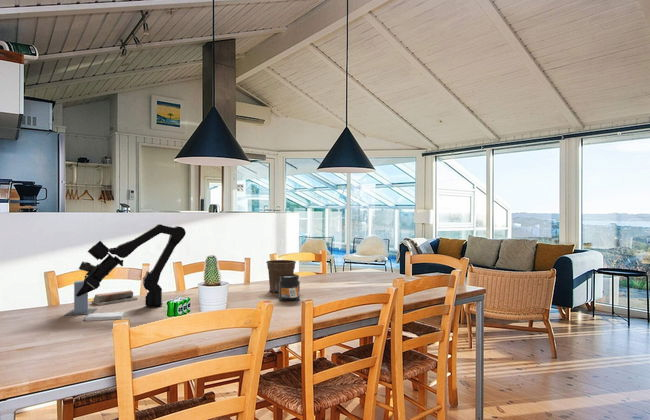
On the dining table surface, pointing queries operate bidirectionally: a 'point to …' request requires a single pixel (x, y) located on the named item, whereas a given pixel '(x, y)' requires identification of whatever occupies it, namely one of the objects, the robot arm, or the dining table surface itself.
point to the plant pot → (279, 271)
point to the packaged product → (113, 297)
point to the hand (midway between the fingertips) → (77, 294)
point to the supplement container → (289, 287)
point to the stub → (80, 298)
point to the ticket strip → (104, 316)
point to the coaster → (80, 313)
